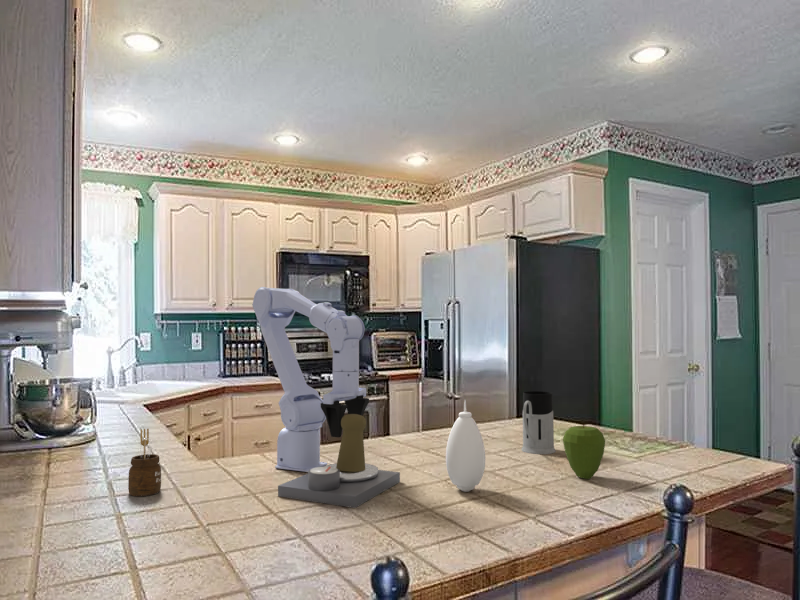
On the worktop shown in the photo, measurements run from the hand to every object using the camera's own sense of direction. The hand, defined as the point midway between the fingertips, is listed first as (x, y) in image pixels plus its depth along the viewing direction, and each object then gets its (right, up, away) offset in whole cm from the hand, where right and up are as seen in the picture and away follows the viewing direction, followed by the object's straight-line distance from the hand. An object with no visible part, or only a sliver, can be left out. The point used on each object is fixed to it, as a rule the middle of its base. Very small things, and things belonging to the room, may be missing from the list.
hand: (345, 433), depth 126 cm
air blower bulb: (+25, -9, -11) cm, 29 cm away
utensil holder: (-39, -9, -12) cm, 41 cm away
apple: (+52, -9, -1) cm, 52 cm away
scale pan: (+1, -7, -7) cm, 10 cm away
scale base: (0, -9, -9) cm, 13 cm away
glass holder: (+47, -10, +23) cm, 53 cm away
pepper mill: (+2, -6, -7) cm, 9 cm away
